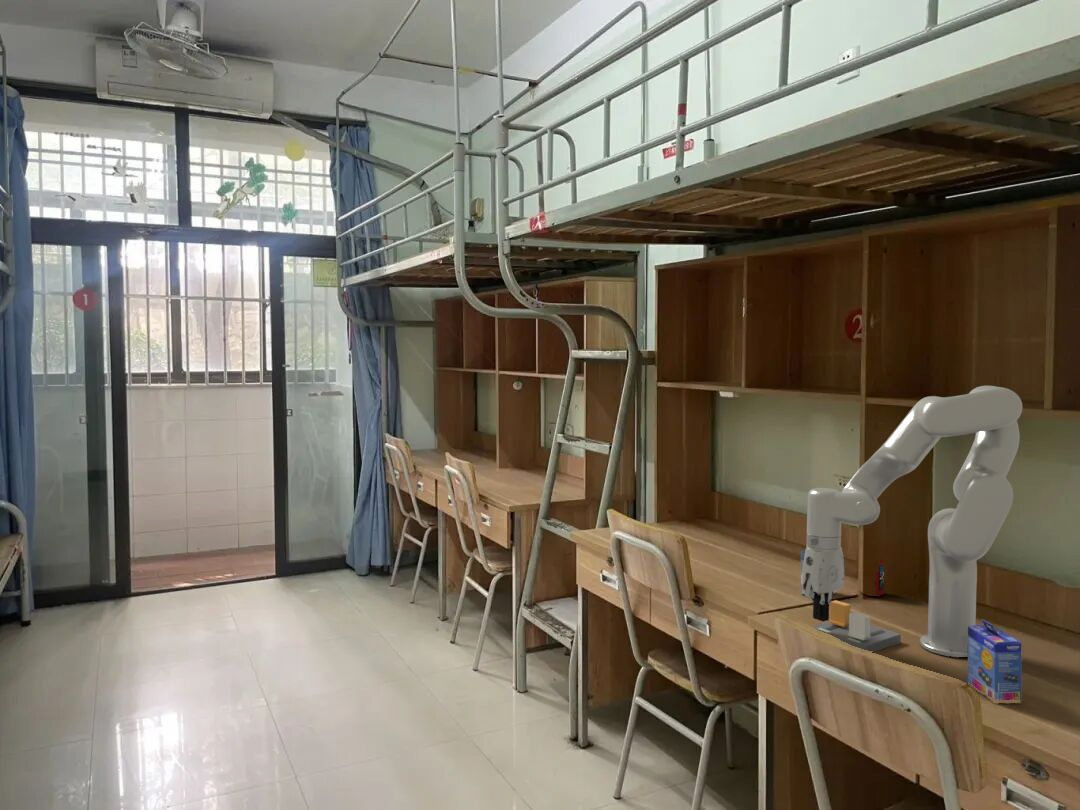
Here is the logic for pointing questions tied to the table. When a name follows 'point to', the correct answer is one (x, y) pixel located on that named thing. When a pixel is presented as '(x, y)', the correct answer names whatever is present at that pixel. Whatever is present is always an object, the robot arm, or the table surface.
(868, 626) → the white breaker handle
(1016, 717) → the table surface
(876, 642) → the breaker panel
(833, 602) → the orange breaker handle
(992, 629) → the ink cartridge box
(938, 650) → the robot arm
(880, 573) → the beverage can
